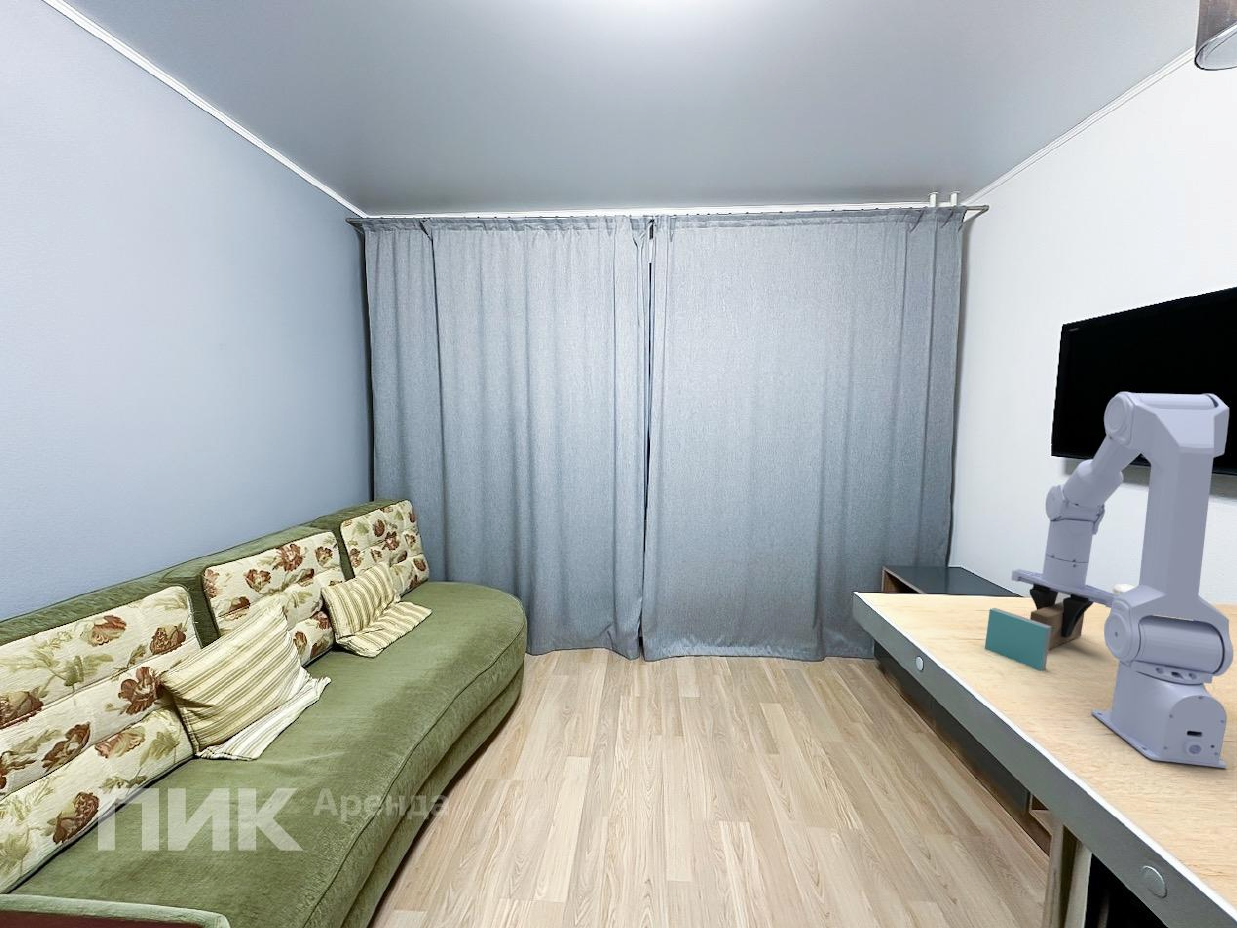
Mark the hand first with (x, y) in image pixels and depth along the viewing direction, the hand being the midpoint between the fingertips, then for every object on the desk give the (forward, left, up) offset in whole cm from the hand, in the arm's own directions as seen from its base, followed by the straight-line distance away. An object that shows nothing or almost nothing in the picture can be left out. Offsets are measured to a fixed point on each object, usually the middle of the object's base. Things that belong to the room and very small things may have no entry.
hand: (1055, 632), depth 91 cm
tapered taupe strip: (0, 0, -2) cm, 2 cm away
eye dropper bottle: (+13, -8, -2) cm, 15 cm away
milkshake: (+7, -16, -2) cm, 17 cm away
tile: (-8, +11, -2) cm, 14 cm away
